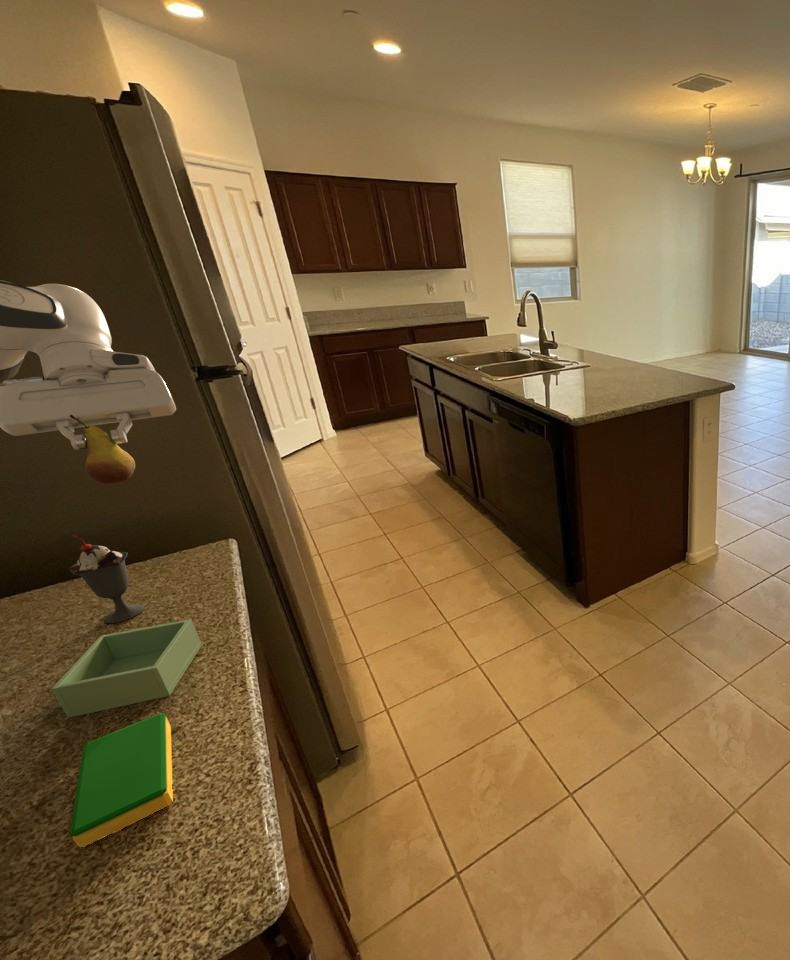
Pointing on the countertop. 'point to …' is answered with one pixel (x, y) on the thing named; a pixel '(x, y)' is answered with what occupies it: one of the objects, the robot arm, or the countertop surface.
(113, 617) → the sundae
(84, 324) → the robot arm
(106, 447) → the fruit
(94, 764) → the dish sponge
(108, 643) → the bin
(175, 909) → the countertop surface
